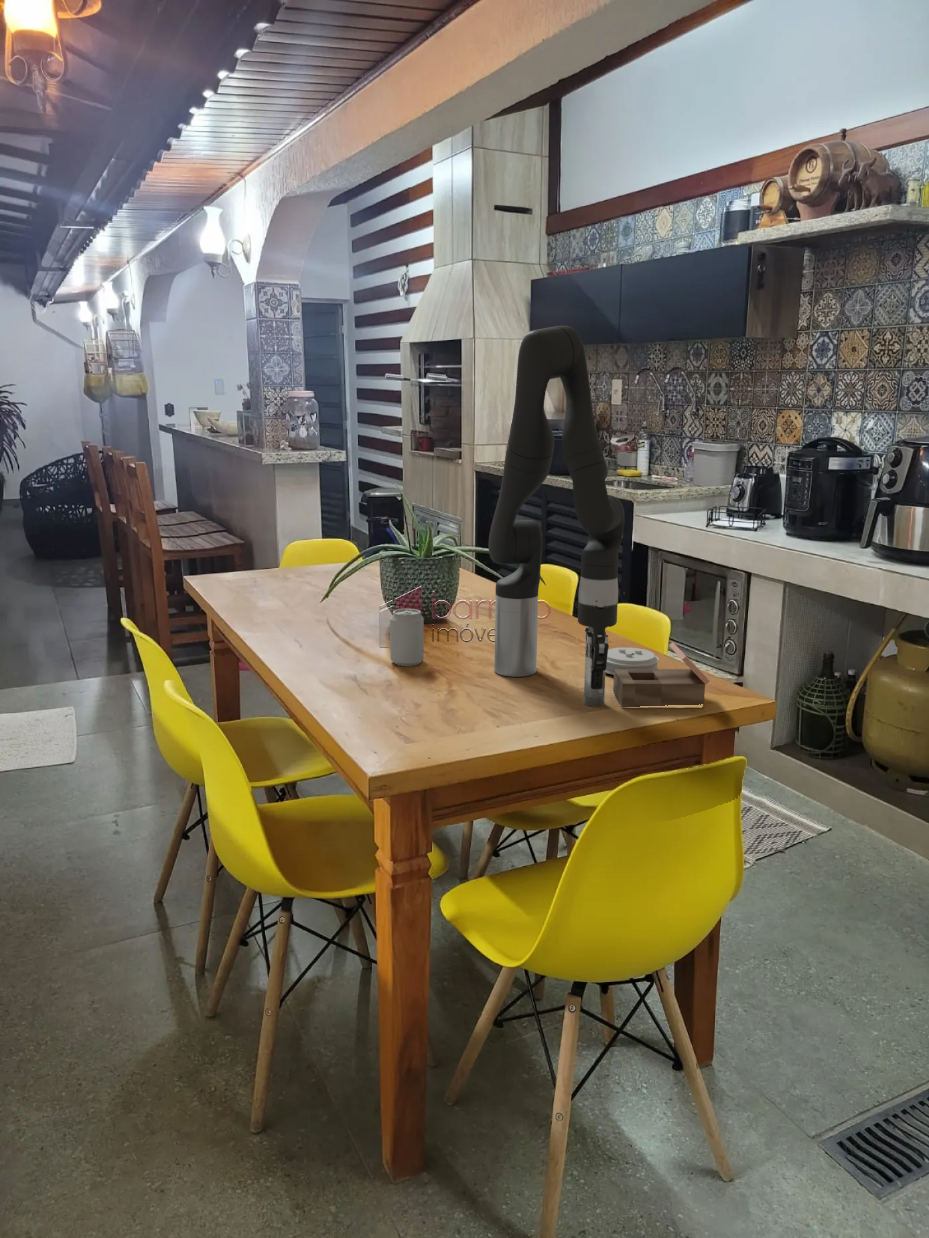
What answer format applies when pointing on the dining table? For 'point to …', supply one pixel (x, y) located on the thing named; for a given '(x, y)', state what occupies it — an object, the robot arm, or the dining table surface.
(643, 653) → the lid
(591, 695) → the pin
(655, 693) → the socket block
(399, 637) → the can
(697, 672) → the pink flat board
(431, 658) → the dining table surface
